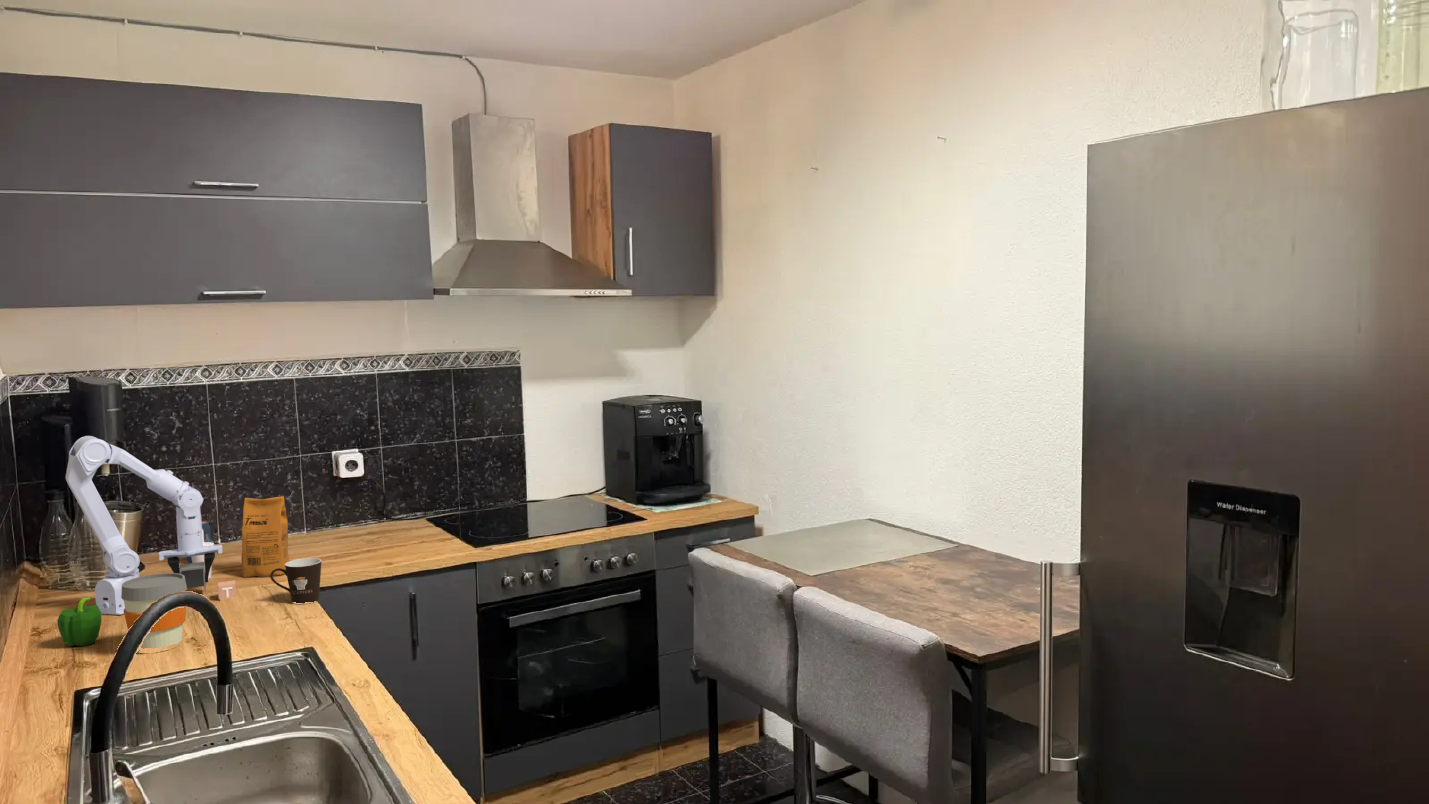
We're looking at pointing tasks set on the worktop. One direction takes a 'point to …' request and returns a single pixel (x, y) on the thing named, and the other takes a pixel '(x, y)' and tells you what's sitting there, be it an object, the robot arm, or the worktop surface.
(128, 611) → the reusable coffee cup
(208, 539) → the soda can
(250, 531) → the coffee package
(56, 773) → the worktop surface
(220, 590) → the letter cube
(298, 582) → the coffee mug
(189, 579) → the grey hollow cube
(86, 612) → the bell pepper
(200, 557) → the smoothie
